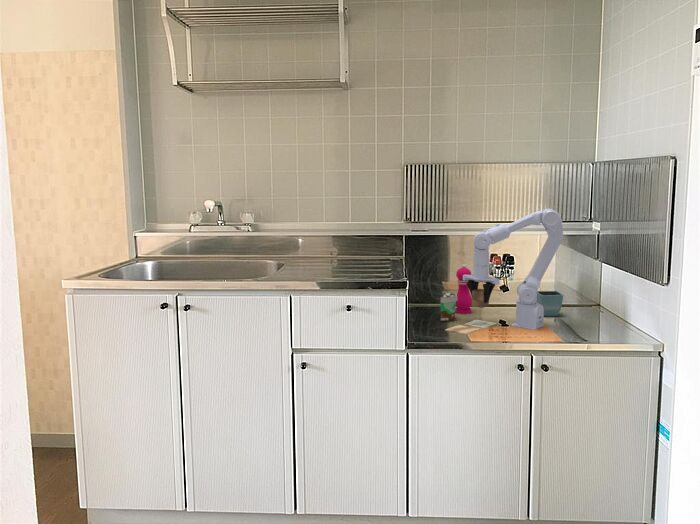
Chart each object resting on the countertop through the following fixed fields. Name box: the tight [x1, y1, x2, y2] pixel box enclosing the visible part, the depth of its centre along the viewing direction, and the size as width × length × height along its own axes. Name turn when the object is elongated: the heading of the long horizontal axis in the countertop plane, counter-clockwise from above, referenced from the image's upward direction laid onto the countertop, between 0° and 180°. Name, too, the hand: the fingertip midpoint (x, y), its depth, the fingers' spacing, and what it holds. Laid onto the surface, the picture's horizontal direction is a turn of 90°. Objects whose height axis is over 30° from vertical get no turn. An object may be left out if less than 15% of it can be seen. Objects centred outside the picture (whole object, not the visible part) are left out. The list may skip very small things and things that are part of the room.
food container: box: [440, 291, 458, 323], centre depth 246 cm, size 12×6×10 cm, turn 168°
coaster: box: [444, 324, 481, 336], centre depth 230 cm, size 9×9×1 cm
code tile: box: [464, 319, 497, 329], centre depth 239 cm, size 9×9×1 cm
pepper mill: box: [455, 263, 472, 315], centre depth 256 cm, size 7×7×20 cm
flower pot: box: [536, 290, 564, 317], centre depth 251 cm, size 9×9×9 cm
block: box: [471, 288, 490, 309], centre depth 237 cm, size 4×4×6 cm
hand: (480, 301), depth 237 cm, fingers closed on block, 4 cm apart
